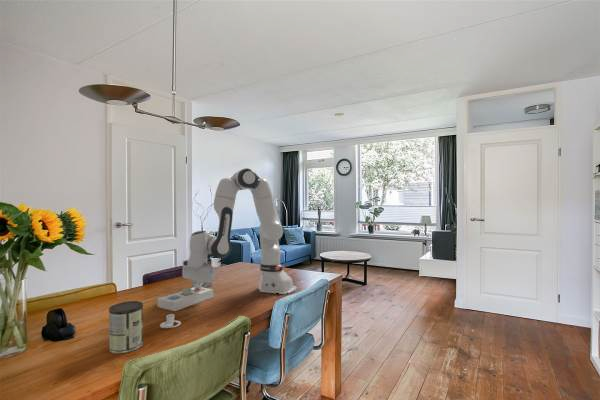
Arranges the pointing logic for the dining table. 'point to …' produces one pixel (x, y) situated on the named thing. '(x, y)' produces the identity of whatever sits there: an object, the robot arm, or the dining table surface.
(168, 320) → the teacup and saucer
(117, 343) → the coffee can
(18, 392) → the dining table surface
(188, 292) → the sage button
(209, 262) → the coffee box
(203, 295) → the button panel
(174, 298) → the blue button
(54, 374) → the dining table surface
